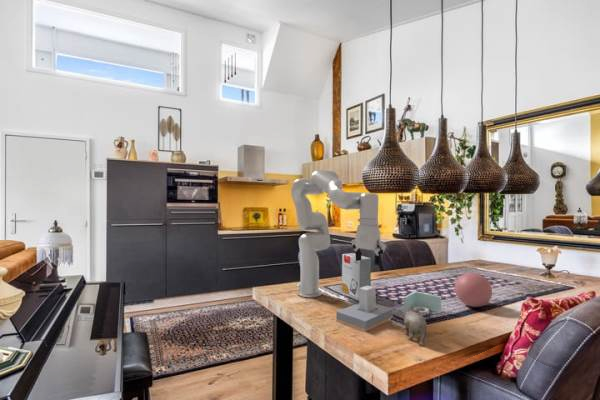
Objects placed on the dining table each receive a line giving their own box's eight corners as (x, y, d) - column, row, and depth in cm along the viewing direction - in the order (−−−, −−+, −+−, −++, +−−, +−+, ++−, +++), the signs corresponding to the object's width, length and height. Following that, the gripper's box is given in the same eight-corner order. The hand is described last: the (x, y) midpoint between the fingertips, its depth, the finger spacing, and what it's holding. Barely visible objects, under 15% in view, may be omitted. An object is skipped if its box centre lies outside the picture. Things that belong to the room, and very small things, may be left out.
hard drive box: (341, 290, 177) (341, 253, 177) (352, 289, 180) (353, 252, 180) (358, 299, 163) (359, 259, 163) (371, 297, 167) (371, 257, 166)
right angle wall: (403, 314, 145) (403, 297, 145) (414, 307, 154) (414, 291, 154) (431, 321, 137) (431, 303, 137) (441, 313, 146) (441, 296, 146)
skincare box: (367, 312, 142) (367, 285, 141) (375, 315, 139) (376, 287, 138) (358, 316, 138) (358, 287, 137) (367, 319, 134) (367, 289, 134)
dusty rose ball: (479, 298, 166) (480, 268, 165) (498, 312, 146) (498, 278, 145) (447, 297, 168) (447, 266, 167) (461, 310, 148) (461, 276, 147)
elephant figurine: (402, 339, 112) (406, 296, 120) (400, 348, 123) (404, 308, 131) (426, 345, 110) (429, 301, 118) (422, 353, 121) (424, 312, 129)
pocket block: (336, 321, 135) (336, 311, 134) (365, 309, 148) (365, 300, 148) (365, 331, 124) (365, 321, 124) (392, 318, 138) (393, 308, 138)
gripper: (347, 221, 144) (346, 260, 144) (381, 224, 131) (380, 267, 131) (357, 220, 149) (356, 258, 149) (391, 223, 136) (390, 265, 137)
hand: (367, 262), depth 140 cm, fingers open, 9 cm apart
